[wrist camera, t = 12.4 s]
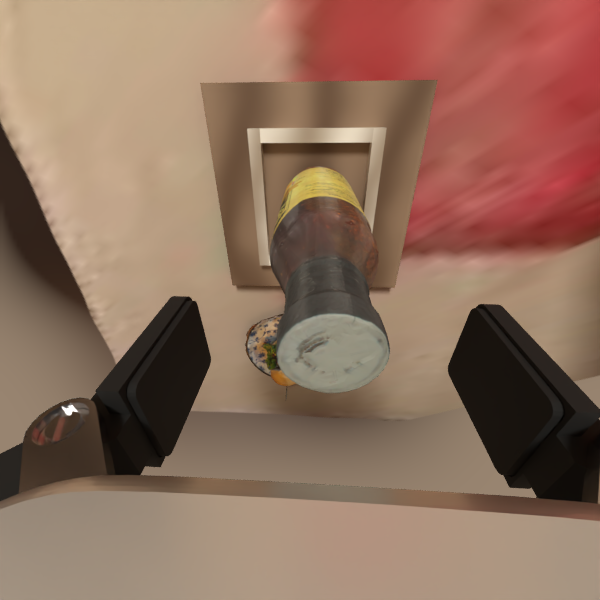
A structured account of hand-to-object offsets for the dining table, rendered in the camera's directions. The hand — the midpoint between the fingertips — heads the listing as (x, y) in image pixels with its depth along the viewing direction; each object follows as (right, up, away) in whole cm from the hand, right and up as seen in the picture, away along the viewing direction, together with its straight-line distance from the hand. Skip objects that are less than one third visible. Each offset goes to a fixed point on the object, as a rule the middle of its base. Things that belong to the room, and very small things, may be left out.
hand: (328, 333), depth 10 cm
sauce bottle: (+1, +10, +16) cm, 19 cm away
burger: (-2, -4, +28) cm, 29 cm away
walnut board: (0, +11, +17) cm, 21 cm away
